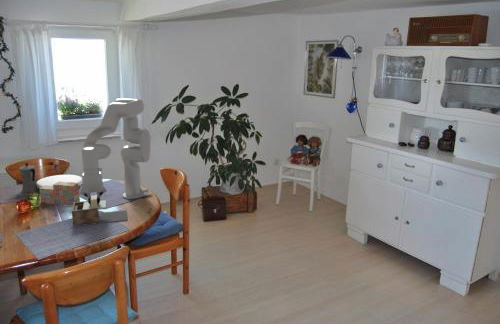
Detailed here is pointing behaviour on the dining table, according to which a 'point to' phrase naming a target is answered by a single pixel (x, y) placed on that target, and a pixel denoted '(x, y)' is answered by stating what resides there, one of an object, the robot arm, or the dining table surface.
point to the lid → (95, 204)
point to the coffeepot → (28, 178)
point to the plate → (57, 178)
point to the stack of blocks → (60, 193)
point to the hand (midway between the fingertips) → (94, 204)
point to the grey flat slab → (114, 216)
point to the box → (84, 214)
